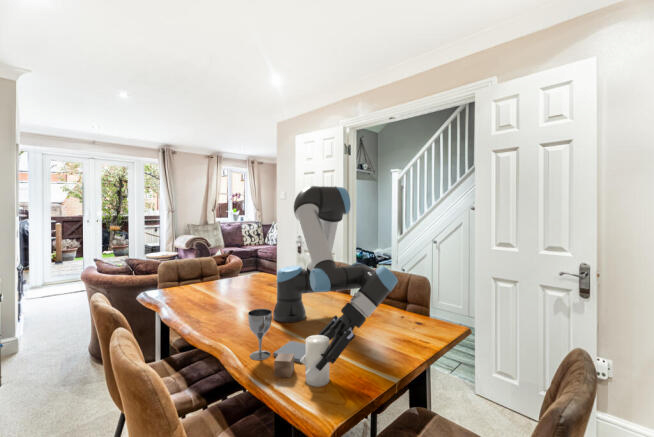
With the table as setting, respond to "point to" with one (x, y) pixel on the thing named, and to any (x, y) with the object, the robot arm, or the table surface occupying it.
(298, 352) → the coaster
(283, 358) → the walnut block
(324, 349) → the white pillar candle
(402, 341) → the table surface
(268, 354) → the wine glass
